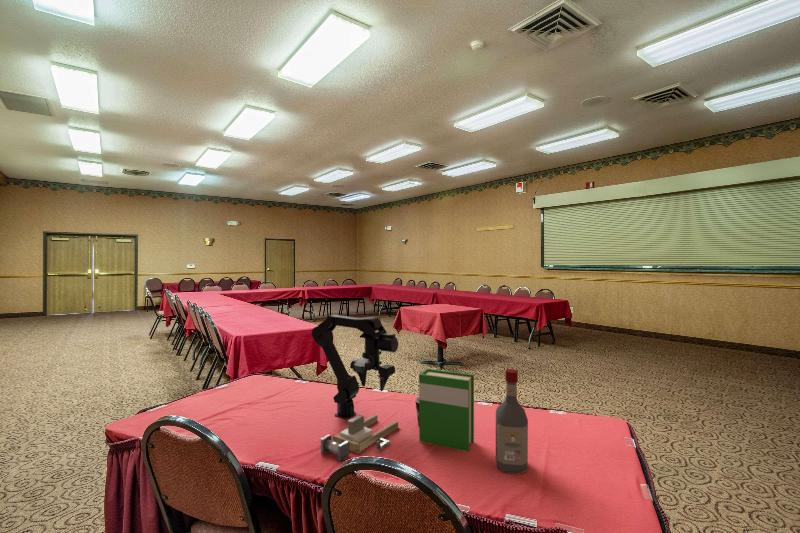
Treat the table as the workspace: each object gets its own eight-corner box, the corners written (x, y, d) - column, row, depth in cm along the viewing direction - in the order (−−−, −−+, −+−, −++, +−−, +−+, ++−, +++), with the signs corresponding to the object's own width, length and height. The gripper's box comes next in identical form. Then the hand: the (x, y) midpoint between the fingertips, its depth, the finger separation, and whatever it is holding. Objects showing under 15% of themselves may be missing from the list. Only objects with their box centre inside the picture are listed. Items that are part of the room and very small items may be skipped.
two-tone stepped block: (340, 443, 137) (339, 419, 137) (355, 434, 144) (355, 411, 143) (357, 450, 132) (356, 425, 132) (372, 440, 139) (372, 417, 139)
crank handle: (378, 451, 132) (378, 442, 131) (369, 447, 134) (369, 439, 134) (389, 444, 136) (389, 435, 136) (380, 440, 139) (380, 432, 139)
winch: (320, 453, 130) (320, 438, 130) (329, 448, 134) (329, 434, 133) (340, 461, 125) (340, 446, 125) (348, 456, 128) (348, 441, 128)
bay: (333, 444, 137) (332, 435, 137) (375, 420, 155) (375, 412, 155) (357, 453, 130) (357, 444, 130) (398, 427, 149) (398, 419, 149)
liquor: (528, 475, 117) (529, 376, 116) (497, 472, 118) (497, 374, 117) (524, 459, 126) (524, 367, 125) (495, 456, 127) (495, 365, 126)
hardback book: (473, 441, 137) (473, 374, 136) (468, 451, 131) (468, 381, 130) (426, 432, 145) (426, 368, 144) (419, 441, 138) (419, 374, 137)
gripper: (340, 350, 152) (341, 389, 153) (377, 357, 142) (378, 400, 142) (359, 344, 161) (360, 381, 162) (395, 351, 151) (396, 391, 151)
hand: (372, 388), depth 154 cm, fingers open, 9 cm apart
